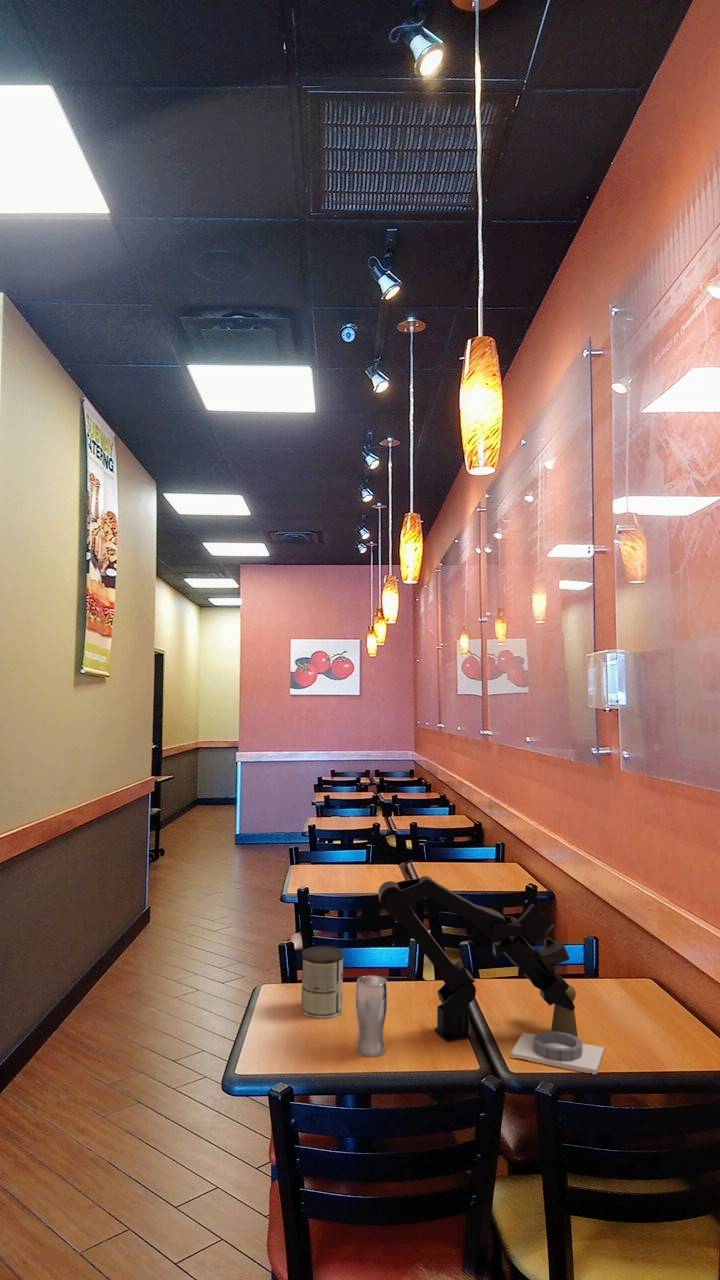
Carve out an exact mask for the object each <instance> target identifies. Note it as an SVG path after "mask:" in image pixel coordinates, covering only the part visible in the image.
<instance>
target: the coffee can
mask: <svg viewBox="0 0 720 1280" xmlns="http://www.w3.org/2000/svg"><path fill="white" fill-rule="evenodd" d="M344 952H345V951H343V950H342V949H341V948H339V947H335V946H329V945H319V946H318V945H317V946H311V947H307V948H305V949H303V950H302V952H301V956H302V960H301V961H302V966H301V971H302V972H301V1009H300V1010H301V1011H300V1012H301V1014H302V1015H304V1016H305V1017H308V1018H312V1019H318V1020H319V1019H321V1020H323V1019H332V1018H335V1017H338V1016H340V1015H341V1014H342V1013H343V986H344V985H343V983H344V982H343V976H344V974H343V973H344V956H345V955H344V954H345V953H344Z"/></svg>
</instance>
